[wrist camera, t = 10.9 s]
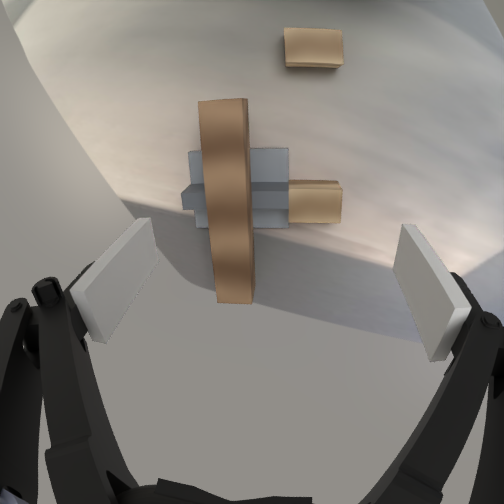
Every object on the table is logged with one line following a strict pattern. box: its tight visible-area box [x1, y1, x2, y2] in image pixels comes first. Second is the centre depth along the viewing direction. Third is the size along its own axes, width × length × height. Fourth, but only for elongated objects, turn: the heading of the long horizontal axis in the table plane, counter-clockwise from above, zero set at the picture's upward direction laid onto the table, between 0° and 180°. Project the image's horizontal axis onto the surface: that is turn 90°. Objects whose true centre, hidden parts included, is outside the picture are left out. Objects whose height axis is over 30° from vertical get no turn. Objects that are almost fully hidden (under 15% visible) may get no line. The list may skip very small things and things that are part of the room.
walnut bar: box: [198, 98, 255, 304], centre depth 31 cm, size 22×4×4 cm, turn 2°
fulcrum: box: [181, 148, 289, 228], centre depth 35 cm, size 10×12×5 cm
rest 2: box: [289, 180, 343, 223], centre depth 35 cm, size 4×6×4 cm, turn 92°
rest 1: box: [284, 28, 344, 68], centre depth 27 cm, size 4×6×4 cm, turn 93°
